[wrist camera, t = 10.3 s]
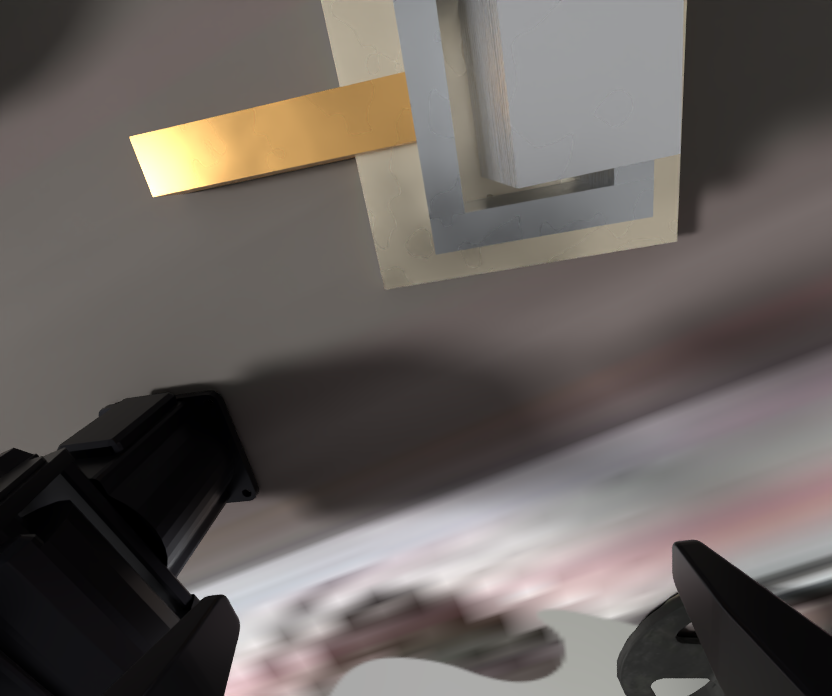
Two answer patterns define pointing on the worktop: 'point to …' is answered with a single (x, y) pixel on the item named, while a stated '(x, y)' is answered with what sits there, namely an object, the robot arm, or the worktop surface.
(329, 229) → the worktop surface
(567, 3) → the grey rectangular block
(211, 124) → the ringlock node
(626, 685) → the holder
